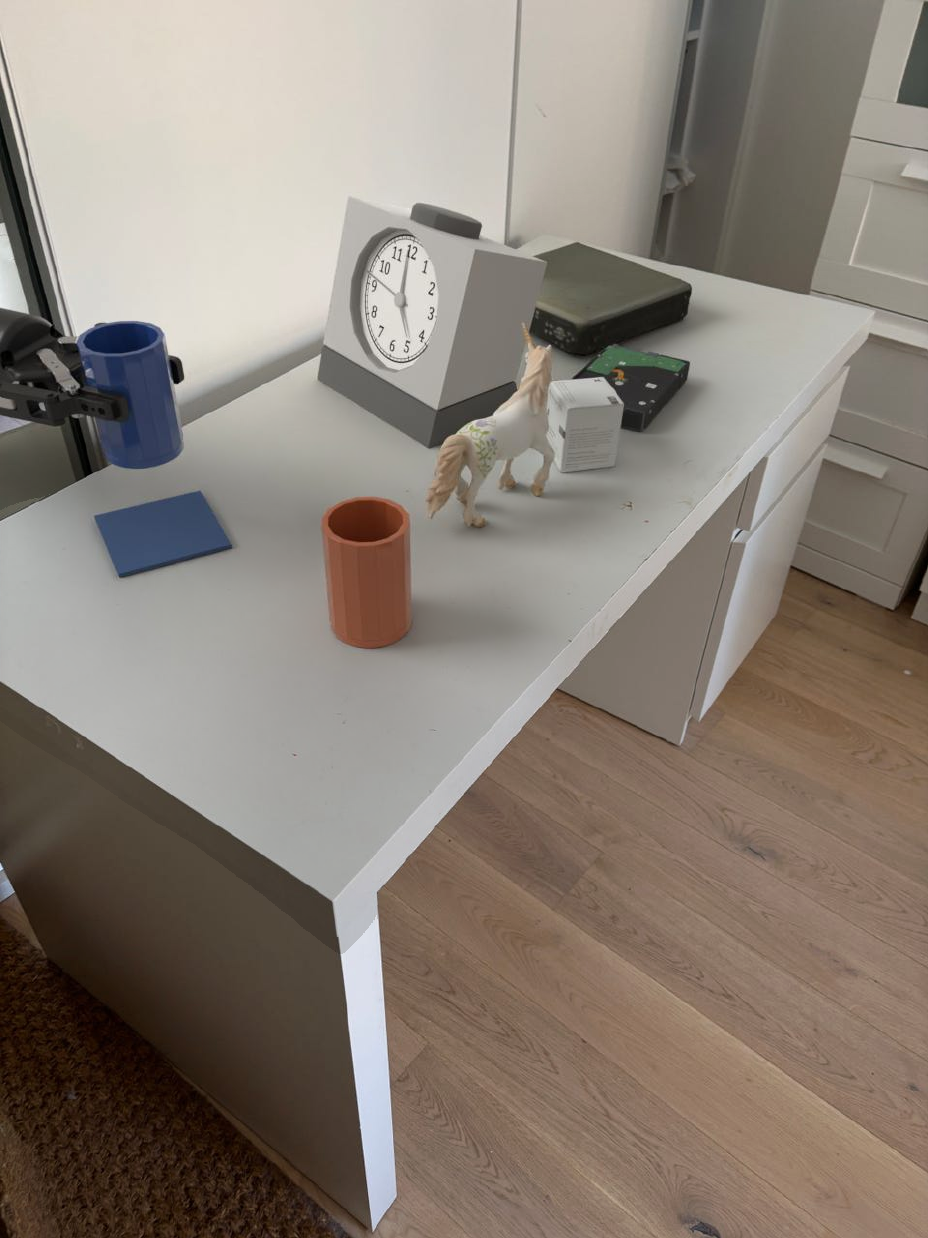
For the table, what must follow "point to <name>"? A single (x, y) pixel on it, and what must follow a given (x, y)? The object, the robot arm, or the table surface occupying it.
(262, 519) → the table surface
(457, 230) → the alarm clock
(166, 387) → the blue cup
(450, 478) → the unicorn figurine
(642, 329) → the network switch
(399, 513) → the terracotta cup
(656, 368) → the disk drive
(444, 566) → the table surface
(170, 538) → the blue mat
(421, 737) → the table surface
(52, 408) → the robot arm
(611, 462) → the product carton
